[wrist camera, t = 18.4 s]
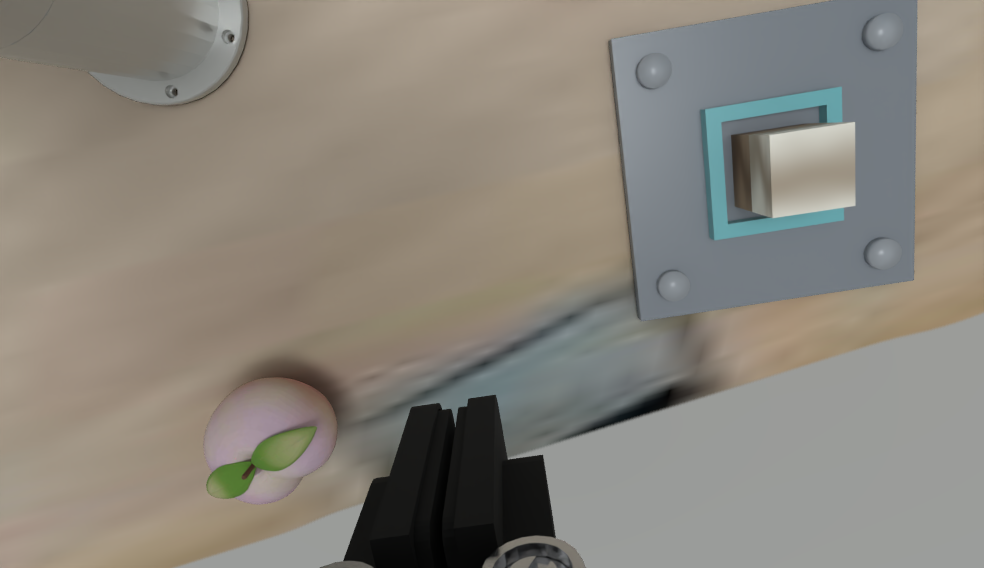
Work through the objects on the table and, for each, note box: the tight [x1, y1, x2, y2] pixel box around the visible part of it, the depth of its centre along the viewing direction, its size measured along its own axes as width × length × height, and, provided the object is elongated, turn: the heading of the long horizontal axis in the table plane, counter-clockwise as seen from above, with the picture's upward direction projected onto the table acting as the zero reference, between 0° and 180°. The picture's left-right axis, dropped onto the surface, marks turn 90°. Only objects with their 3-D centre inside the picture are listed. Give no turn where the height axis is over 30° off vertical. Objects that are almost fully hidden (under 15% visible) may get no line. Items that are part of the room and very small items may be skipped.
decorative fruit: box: [204, 377, 337, 504], centre depth 43 cm, size 9×8×10 cm
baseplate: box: [609, 0, 917, 321], centre depth 41 cm, size 20×20×2 cm
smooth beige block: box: [731, 122, 855, 218], centre depth 39 cm, size 5×5×6 cm
